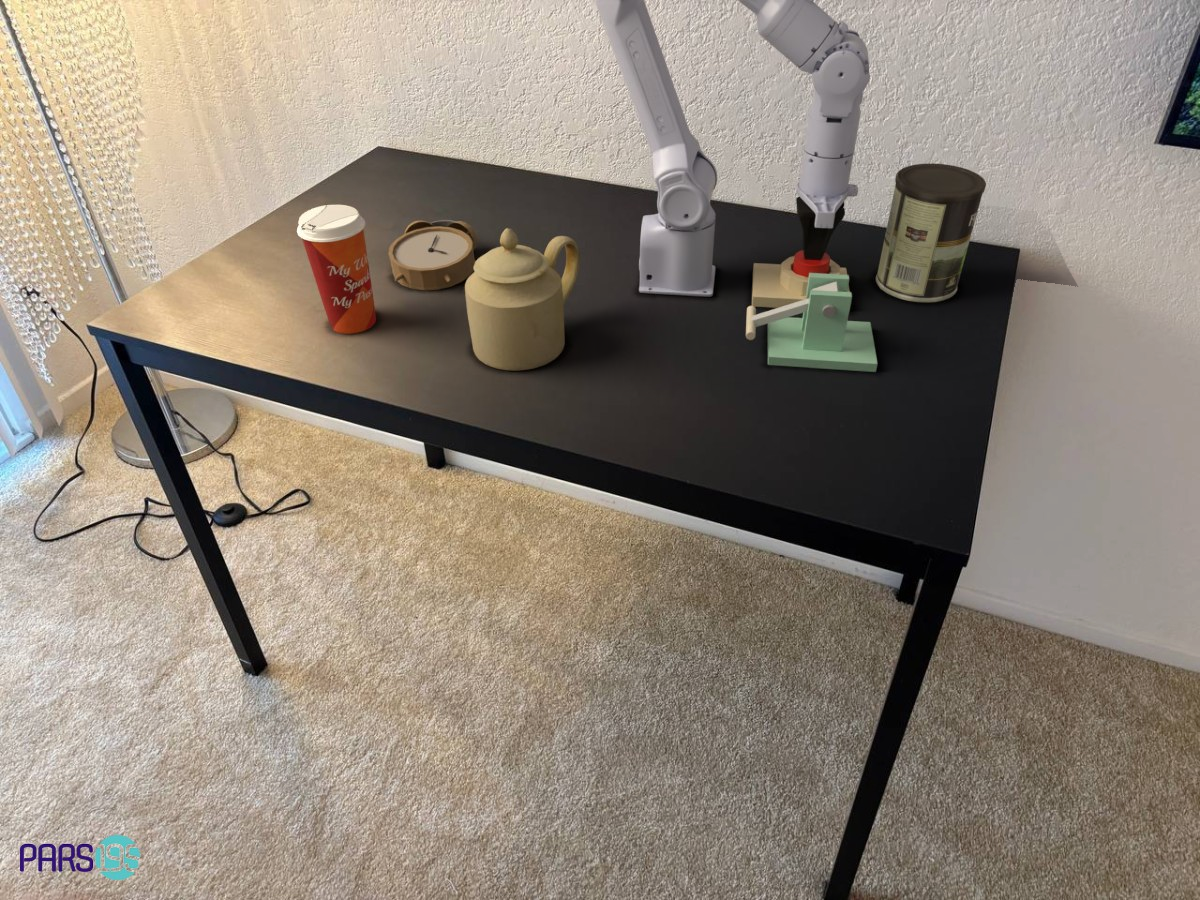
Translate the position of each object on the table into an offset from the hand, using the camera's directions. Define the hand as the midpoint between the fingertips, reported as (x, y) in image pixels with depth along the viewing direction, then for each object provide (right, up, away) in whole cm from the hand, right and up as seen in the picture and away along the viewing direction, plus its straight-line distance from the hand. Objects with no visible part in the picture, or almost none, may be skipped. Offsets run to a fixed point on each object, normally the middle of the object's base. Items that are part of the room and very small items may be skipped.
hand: (812, 257), depth 108 cm
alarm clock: (-49, +1, +11) cm, 50 cm away
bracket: (-1, -12, -7) cm, 14 cm away
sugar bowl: (-36, -11, -4) cm, 38 cm away
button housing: (-1, -4, +3) cm, 5 cm away
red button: (0, -2, +1) cm, 2 cm away
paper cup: (-57, -8, 0) cm, 58 cm away
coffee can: (+14, -3, +5) cm, 15 cm away
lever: (-4, -9, -9) cm, 13 cm away
